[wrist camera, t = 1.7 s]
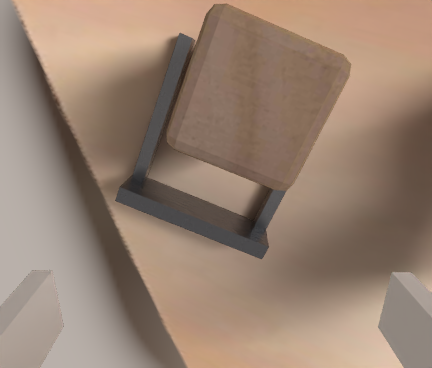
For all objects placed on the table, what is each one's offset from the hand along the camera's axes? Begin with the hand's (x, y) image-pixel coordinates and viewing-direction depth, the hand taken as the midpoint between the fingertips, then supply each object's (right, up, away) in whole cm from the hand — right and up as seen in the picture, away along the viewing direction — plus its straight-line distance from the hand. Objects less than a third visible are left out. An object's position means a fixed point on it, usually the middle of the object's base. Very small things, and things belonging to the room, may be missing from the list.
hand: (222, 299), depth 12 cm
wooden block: (+4, +16, +27) cm, 32 cm away
